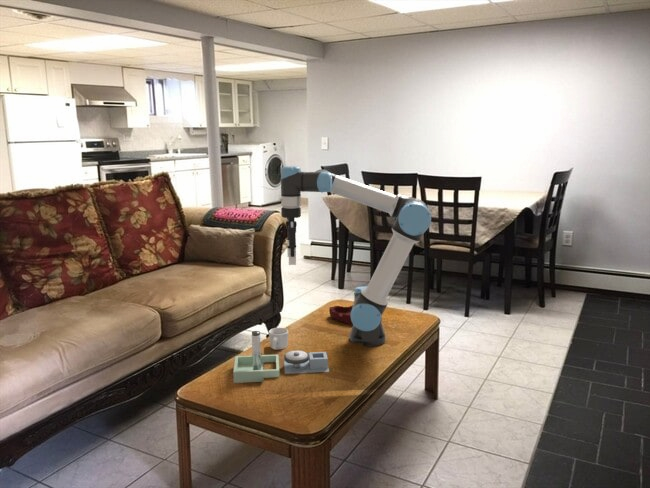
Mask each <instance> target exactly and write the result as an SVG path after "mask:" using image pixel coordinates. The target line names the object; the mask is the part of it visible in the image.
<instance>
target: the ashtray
mask: <svg viewBox="0 0 650 488" xmlns="http://www.w3.org/2000/svg"><path fill="white" fill-rule="evenodd" d="M352 307H353V304H352V305H351V306H341V305H334V306H330V307H329V310H328V313H329V316H330V318H332V319H333V320H335V321H340V322H342V323H345V324H348V325H352V326H353V323H352V321H351V316H350V314H351V310H352Z"/></svg>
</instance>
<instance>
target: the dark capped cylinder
mask: <svg viewBox="0 0 650 488" xmlns="http://www.w3.org/2000/svg"><path fill="white" fill-rule="evenodd" d="M261 347H262V346H261V331H259V330H254V331H251V349H252V350H251V352H252V353H251V354H252V355H251V356H252V360H253V370H261V355H262V354H261V353H262V352H261V350H262V349H261Z"/></svg>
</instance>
